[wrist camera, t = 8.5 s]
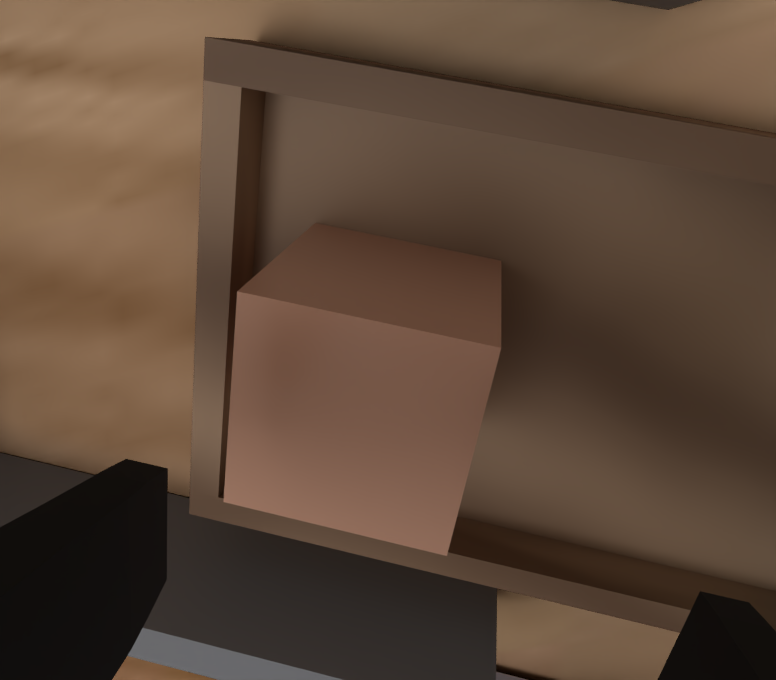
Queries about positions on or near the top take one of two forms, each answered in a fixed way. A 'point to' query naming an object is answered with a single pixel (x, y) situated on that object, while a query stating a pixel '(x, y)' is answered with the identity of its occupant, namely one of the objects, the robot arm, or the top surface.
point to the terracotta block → (362, 384)
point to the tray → (528, 314)
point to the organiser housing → (292, 596)
